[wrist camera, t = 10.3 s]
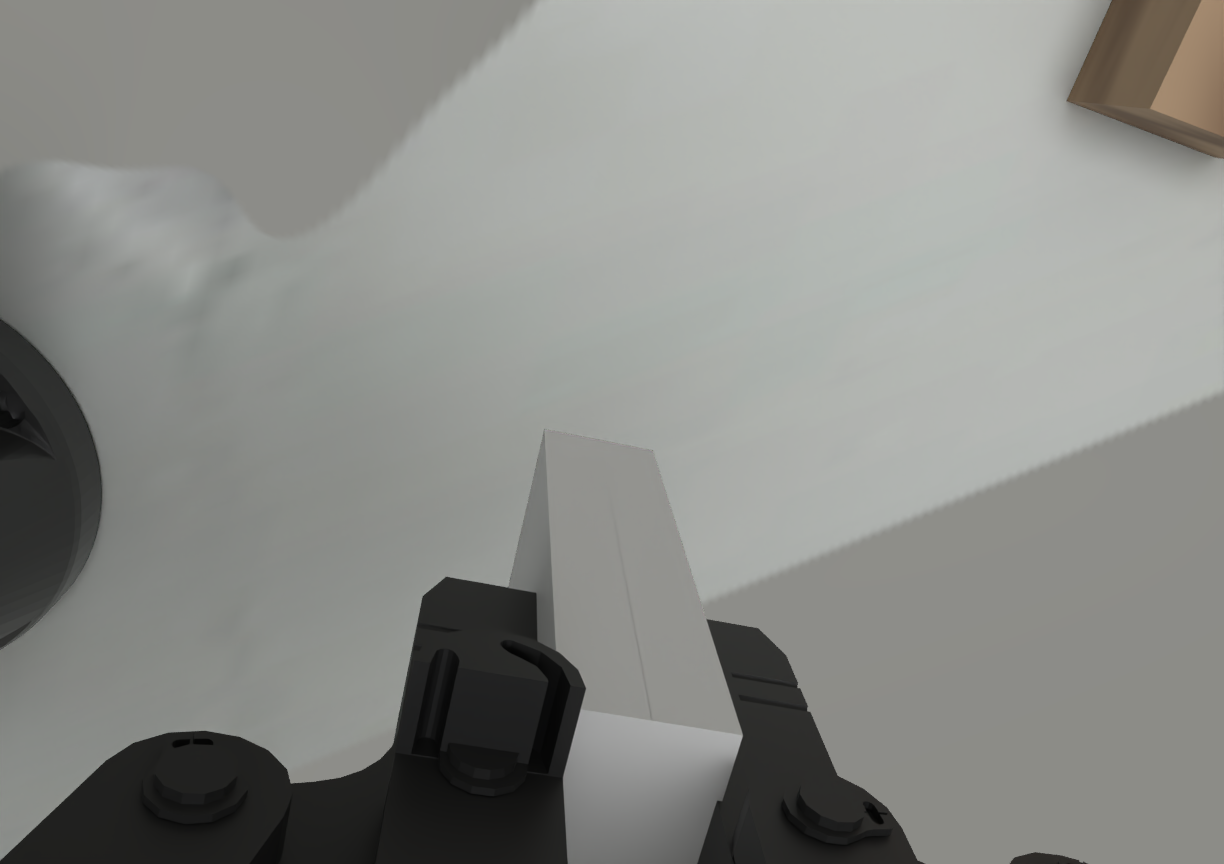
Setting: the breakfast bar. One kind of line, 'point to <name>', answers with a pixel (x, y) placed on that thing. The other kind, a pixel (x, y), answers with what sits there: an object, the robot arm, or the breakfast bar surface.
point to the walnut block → (1160, 70)
